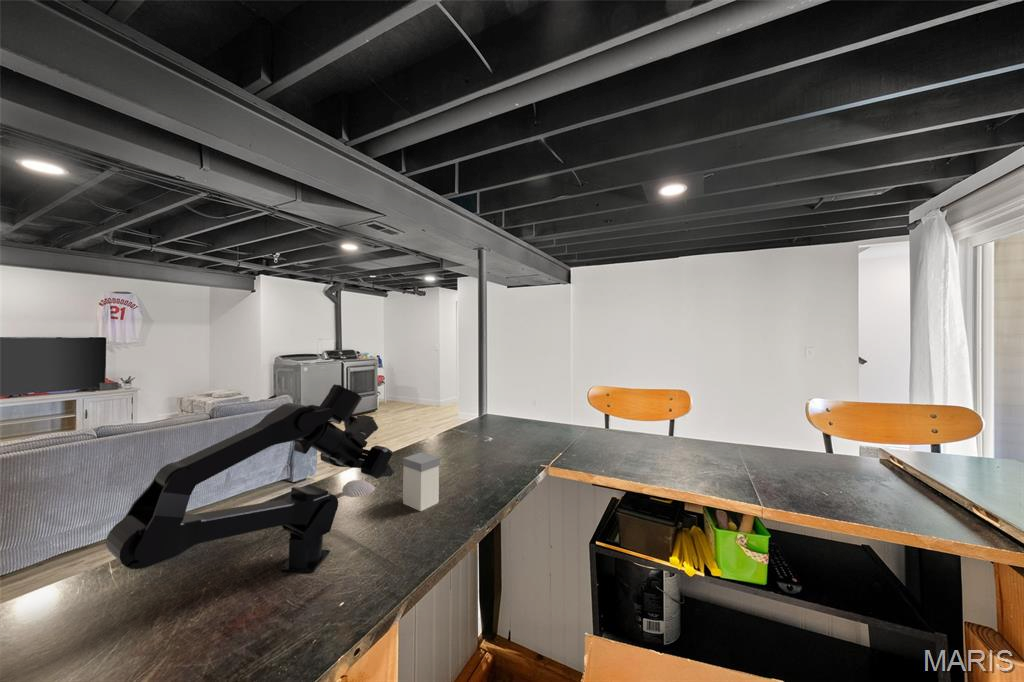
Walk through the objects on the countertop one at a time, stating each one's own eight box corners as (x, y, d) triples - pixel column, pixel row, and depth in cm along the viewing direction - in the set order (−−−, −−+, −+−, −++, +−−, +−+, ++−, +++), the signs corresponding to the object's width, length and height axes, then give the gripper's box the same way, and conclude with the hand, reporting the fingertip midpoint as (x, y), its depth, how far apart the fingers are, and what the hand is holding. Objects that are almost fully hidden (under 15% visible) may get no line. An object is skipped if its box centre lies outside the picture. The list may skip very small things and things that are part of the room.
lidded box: (420, 511, 92) (421, 464, 91) (402, 503, 96) (403, 458, 96) (439, 502, 97) (439, 457, 96) (420, 495, 101) (421, 452, 101)
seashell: (352, 476, 110) (382, 472, 108) (355, 494, 109) (385, 490, 107) (329, 489, 100) (361, 484, 98) (332, 509, 99) (365, 505, 97)
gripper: (382, 412, 77) (422, 445, 87) (328, 403, 86) (370, 433, 97) (352, 463, 71) (399, 491, 81) (297, 447, 80) (346, 474, 91)
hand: (378, 469), depth 88 cm, fingers open, 9 cm apart
